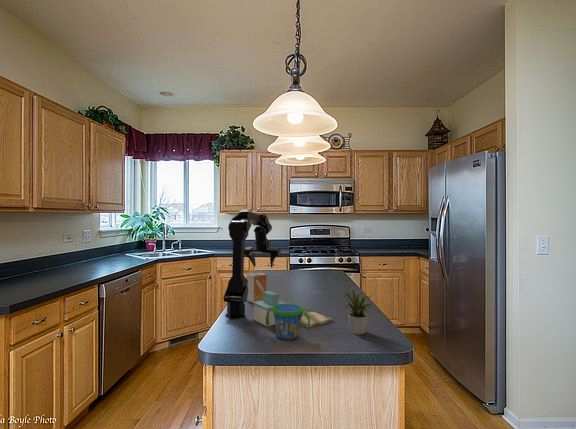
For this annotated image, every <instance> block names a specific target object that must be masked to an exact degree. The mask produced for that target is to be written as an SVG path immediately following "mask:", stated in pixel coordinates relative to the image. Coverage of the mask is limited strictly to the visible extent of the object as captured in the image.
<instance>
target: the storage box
mask: <svg viewBox="0 0 576 429" xmlns="http://www.w3.org/2000/svg"><path fill="white" fill-rule="evenodd" d="M267 312H268V310H267V311H266V310H264V309H262V308H260V307H257V306H255V305H253V320H254V321H256V322H258V323H260V324H262V325H263V326H265V327H269V326H273V325H275V319H274V313H273V311H272V310H271V311H270V312H269V315H268V317H269V324H268V325H266V314H267Z"/></svg>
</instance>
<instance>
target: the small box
mask: <svg viewBox="0 0 576 429" xmlns="http://www.w3.org/2000/svg"><path fill="white" fill-rule="evenodd" d="M245 275H246V277H245V279H247V280H248V296H247V301H246V302H249V303H252V304H253V302H256V301H262V300H263V292H265V291H267V281H268V280H267V277H268V276H267V274H266V273H261V272H255V273H248V274H245Z"/></svg>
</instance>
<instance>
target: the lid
mask: <svg viewBox="0 0 576 429" xmlns="http://www.w3.org/2000/svg"><path fill="white" fill-rule="evenodd" d="M279 298H280V294H279V293H277V292H273V291H271V290H266V291H265V292H263V300H262V301H256V302H253V303H252V306H254V305H255V306H257V307H260V308H262V309H264V310H266V311H267V310H269V309H271V308H272V307H274V306H275V305H278V304H289V303H288V302H286V301H283V300H280V299H279Z"/></svg>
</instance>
